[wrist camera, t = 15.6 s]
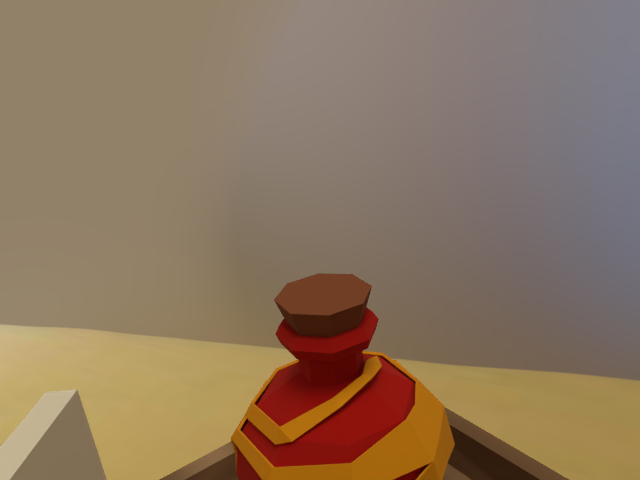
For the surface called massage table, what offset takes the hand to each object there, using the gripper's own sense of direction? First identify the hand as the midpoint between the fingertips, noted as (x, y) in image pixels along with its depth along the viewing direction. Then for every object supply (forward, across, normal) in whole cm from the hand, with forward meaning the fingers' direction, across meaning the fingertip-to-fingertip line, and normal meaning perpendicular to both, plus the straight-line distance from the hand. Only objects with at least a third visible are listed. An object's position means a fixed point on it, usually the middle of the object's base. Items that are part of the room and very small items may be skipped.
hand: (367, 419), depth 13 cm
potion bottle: (+12, -2, -18) cm, 21 cm away
